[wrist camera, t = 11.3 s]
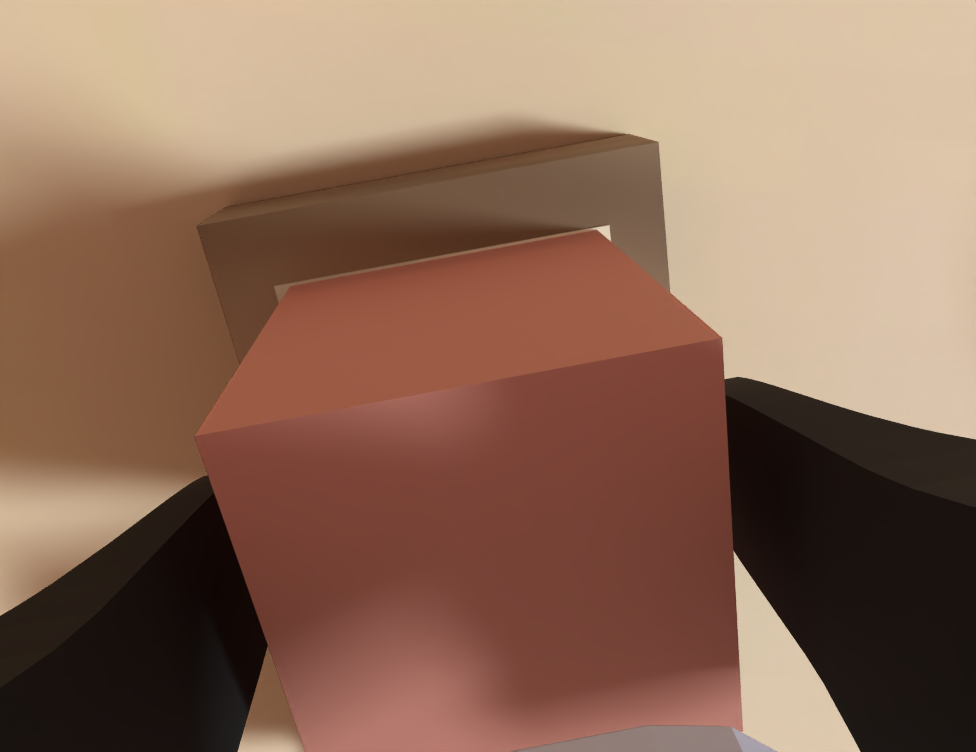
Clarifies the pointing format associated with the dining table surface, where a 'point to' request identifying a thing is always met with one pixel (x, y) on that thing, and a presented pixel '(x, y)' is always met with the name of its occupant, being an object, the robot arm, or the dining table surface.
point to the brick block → (485, 502)
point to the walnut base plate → (435, 222)
